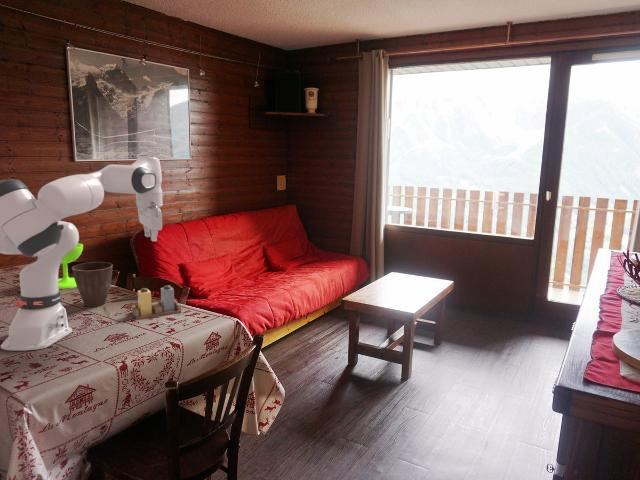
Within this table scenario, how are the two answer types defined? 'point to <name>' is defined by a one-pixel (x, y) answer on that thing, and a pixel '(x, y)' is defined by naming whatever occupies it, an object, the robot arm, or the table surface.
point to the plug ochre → (144, 302)
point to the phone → (125, 299)
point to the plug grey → (167, 298)
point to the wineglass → (70, 257)
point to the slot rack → (156, 310)
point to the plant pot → (93, 281)
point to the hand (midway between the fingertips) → (150, 238)
